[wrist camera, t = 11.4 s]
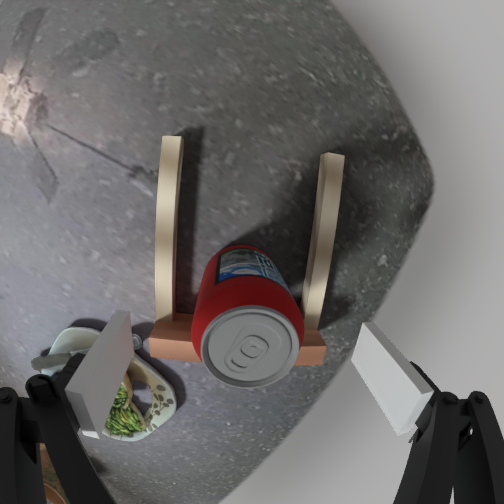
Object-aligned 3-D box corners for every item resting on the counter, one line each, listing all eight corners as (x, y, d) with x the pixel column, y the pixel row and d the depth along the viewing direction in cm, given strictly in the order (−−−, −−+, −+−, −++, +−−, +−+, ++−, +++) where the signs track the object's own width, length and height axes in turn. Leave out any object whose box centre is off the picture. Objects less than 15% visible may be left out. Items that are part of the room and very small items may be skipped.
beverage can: (291, 270, 26) (336, 336, 15) (247, 323, 27) (260, 411, 16) (232, 226, 25) (237, 268, 13) (189, 285, 26) (164, 362, 14)
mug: (18, 413, 29) (-9, 456, 18) (93, 472, 34) (79, 518, 22) (6, 427, 30) (-16, 463, 19) (71, 478, 35) (58, 517, 23)
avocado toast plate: (86, 275, 25) (64, 291, 21) (214, 381, 29) (212, 409, 25) (31, 366, 27) (15, 384, 23) (129, 441, 32) (122, 464, 27)
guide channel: (167, 139, 22) (153, 129, 18) (336, 157, 24) (359, 153, 19) (161, 328, 27) (150, 356, 22) (308, 336, 28) (322, 364, 23)
